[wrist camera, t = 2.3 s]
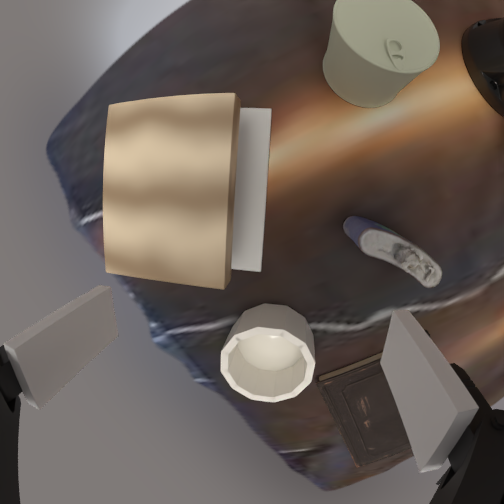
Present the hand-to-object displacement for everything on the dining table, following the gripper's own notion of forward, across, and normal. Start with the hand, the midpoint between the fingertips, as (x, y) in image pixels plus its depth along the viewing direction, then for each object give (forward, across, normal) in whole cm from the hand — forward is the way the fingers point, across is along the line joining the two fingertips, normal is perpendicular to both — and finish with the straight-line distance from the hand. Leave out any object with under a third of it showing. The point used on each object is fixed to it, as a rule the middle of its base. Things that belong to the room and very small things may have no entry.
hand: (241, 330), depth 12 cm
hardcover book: (+21, +19, -24) cm, 37 cm away
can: (+21, +10, +20) cm, 30 cm away
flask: (+21, +12, +1) cm, 24 cm away
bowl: (+21, 0, -13) cm, 24 cm away
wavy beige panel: (+14, -9, +6) cm, 17 cm away
